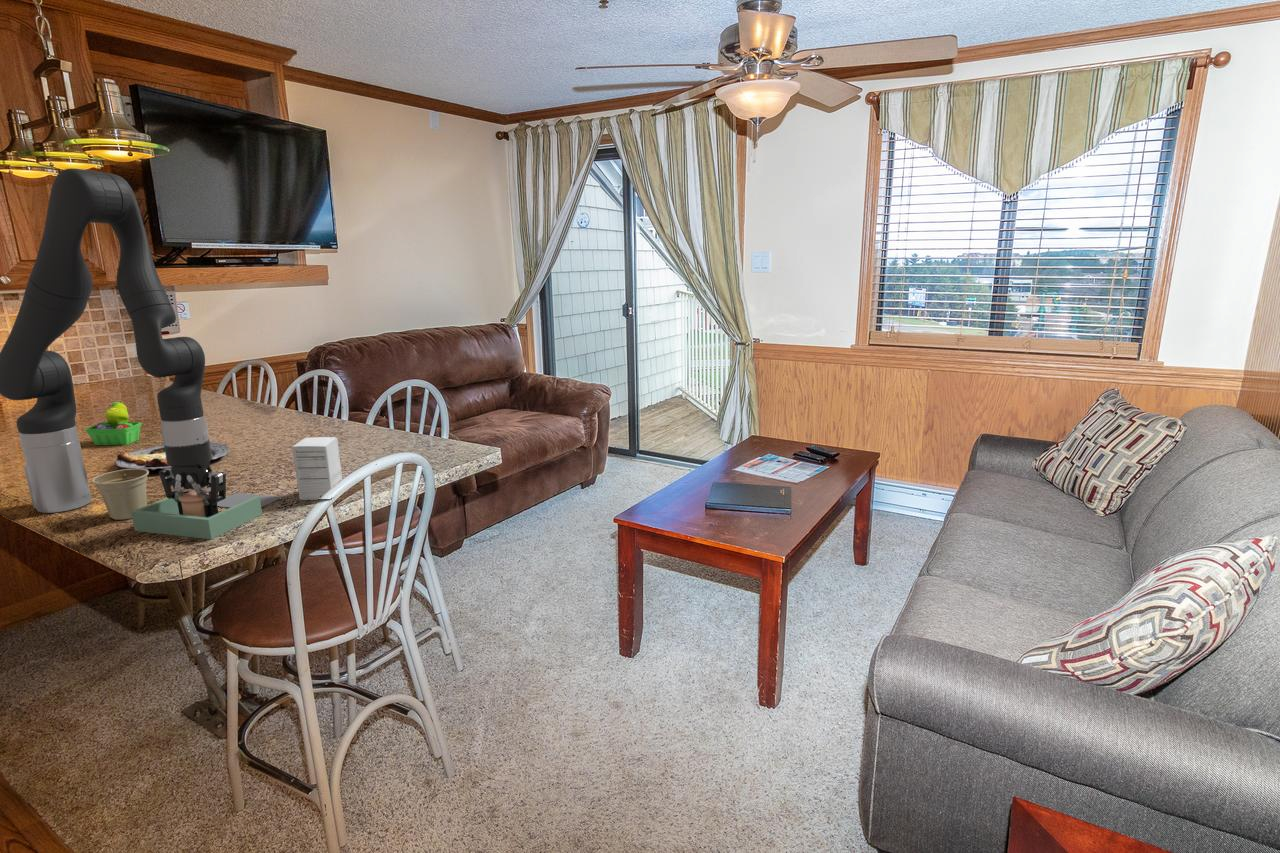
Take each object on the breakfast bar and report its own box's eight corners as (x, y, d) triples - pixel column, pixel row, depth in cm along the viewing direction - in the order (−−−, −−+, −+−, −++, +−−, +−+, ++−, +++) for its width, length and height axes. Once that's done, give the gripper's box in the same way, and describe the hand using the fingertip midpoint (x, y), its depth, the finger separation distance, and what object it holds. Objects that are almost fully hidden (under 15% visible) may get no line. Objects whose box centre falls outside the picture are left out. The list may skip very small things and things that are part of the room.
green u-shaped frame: (134, 530, 133) (131, 511, 132) (190, 507, 146) (187, 489, 145) (211, 539, 129) (208, 520, 128) (262, 514, 142) (259, 496, 141)
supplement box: (311, 489, 157) (304, 436, 154) (344, 488, 157) (338, 436, 154) (298, 500, 150) (291, 445, 147) (332, 500, 150) (326, 445, 147)
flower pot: (99, 527, 135) (90, 486, 133) (100, 512, 142) (92, 473, 140) (156, 516, 140) (149, 477, 138) (155, 503, 148) (148, 465, 145)
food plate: (133, 481, 161) (131, 467, 160) (101, 464, 174) (99, 451, 174) (245, 460, 180) (243, 447, 179) (208, 445, 194) (206, 434, 193)
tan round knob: (176, 526, 135) (171, 498, 134) (200, 516, 141) (195, 488, 139) (200, 529, 134) (195, 501, 133) (223, 518, 140) (219, 491, 138)
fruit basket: (86, 446, 190) (78, 407, 187) (109, 438, 198) (101, 400, 196) (128, 446, 190) (120, 407, 187) (149, 438, 199) (142, 400, 196)
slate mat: (208, 505, 146) (207, 505, 146) (237, 493, 154) (236, 492, 154) (255, 510, 144) (255, 509, 144) (282, 497, 151) (282, 497, 151)
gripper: (139, 442, 131) (154, 523, 135) (201, 447, 128) (214, 530, 132) (172, 432, 138) (186, 509, 142) (232, 437, 135) (244, 515, 139)
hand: (199, 519), depth 137 cm, fingers open, 5 cm apart
